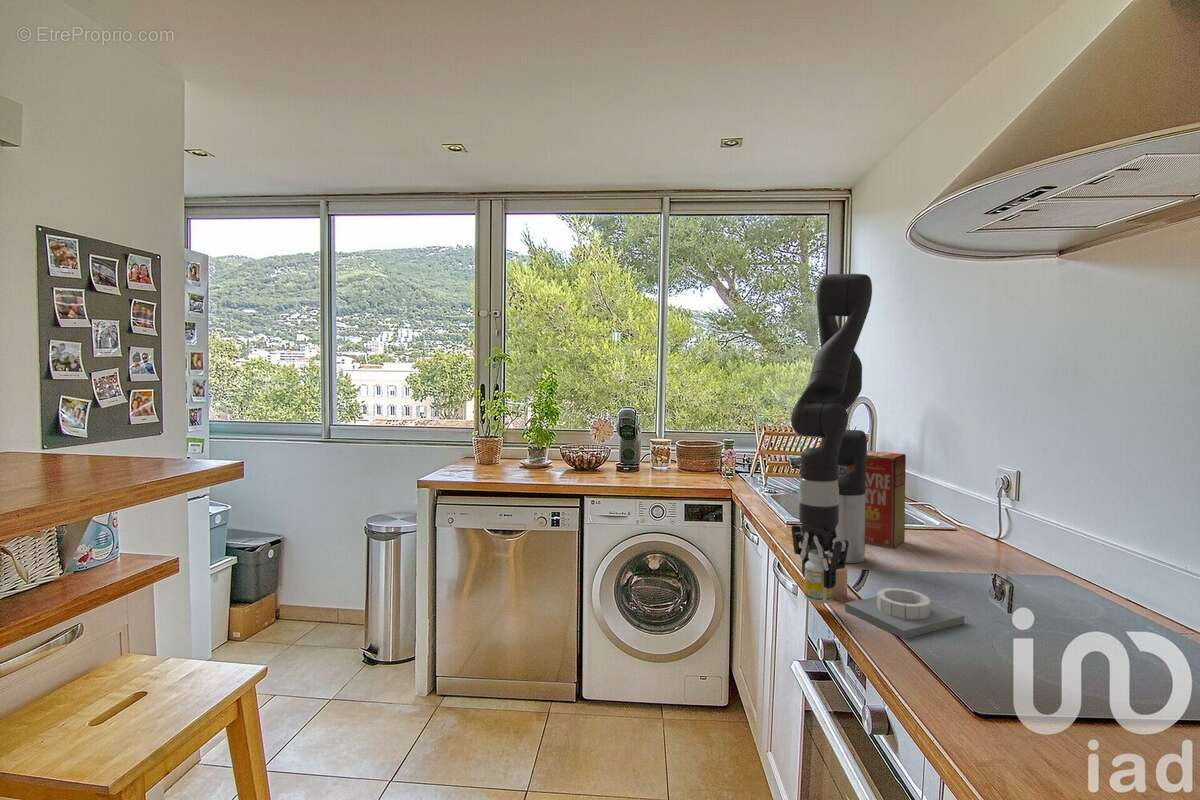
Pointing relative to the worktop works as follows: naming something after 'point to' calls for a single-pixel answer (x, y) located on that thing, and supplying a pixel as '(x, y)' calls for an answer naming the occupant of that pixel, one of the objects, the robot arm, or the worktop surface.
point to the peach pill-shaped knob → (840, 585)
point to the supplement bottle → (816, 580)
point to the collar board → (901, 623)
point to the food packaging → (884, 499)
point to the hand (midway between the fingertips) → (818, 581)
